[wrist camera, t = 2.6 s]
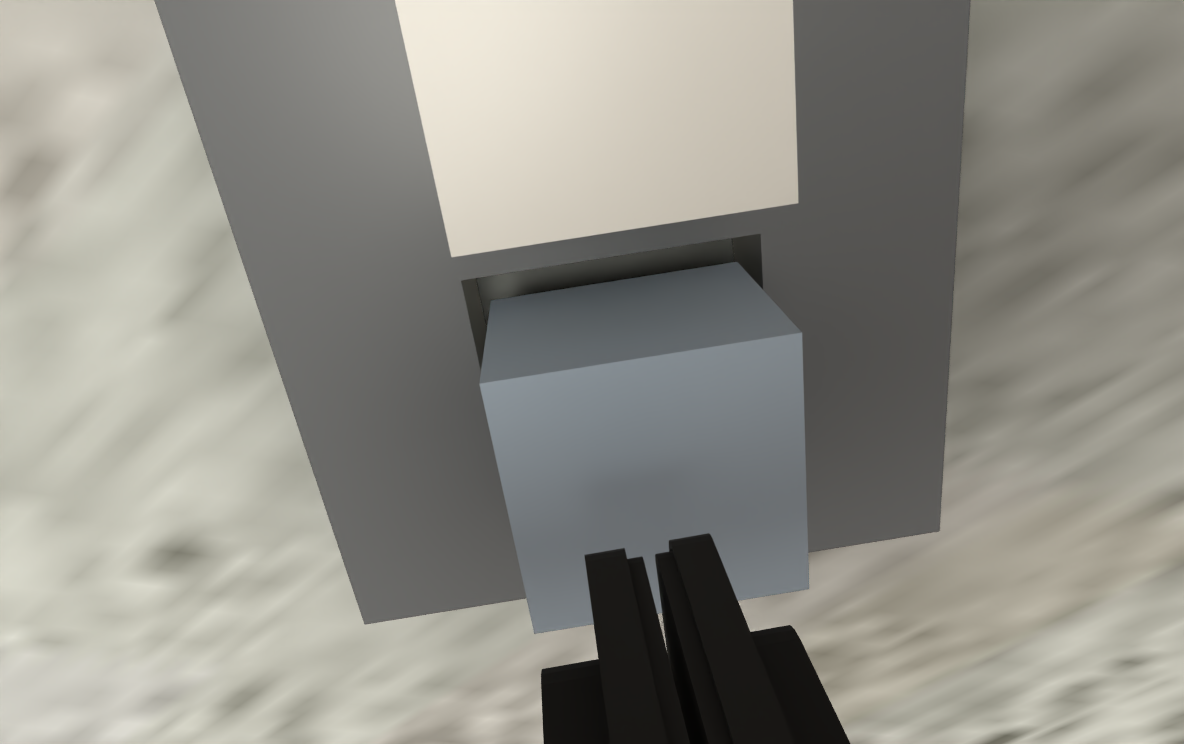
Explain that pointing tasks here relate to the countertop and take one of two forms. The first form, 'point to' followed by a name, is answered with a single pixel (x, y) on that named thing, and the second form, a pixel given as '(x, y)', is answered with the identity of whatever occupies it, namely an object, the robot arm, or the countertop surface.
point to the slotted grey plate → (450, 292)
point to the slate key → (648, 431)
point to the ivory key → (601, 113)
